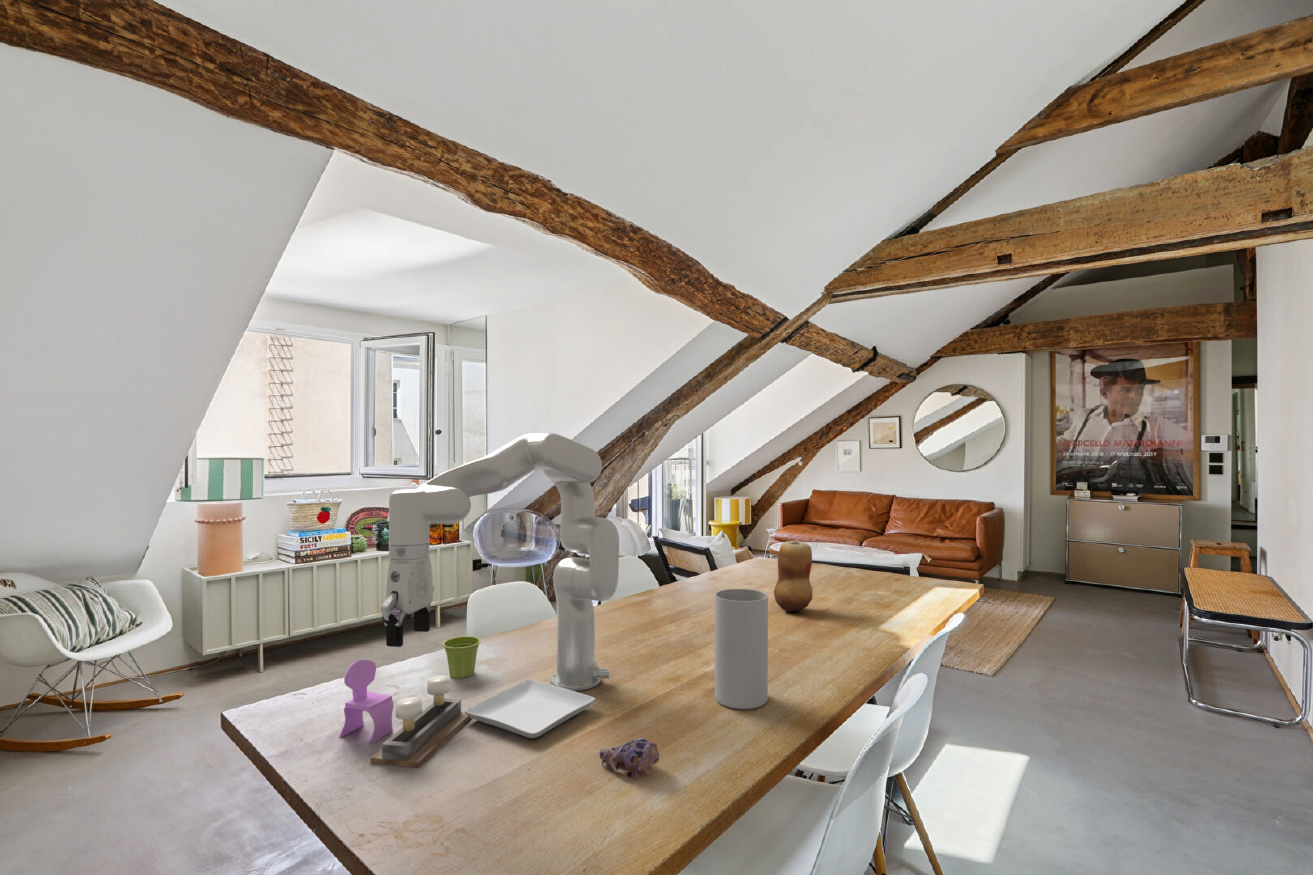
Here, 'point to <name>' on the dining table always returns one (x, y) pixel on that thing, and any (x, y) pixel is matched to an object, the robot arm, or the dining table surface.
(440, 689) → the plunger far
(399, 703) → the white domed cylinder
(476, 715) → the salad plate
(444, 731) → the mount
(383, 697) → the toy chair
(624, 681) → the dining table surface
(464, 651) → the plant pot
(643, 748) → the grey-brown rounded lump
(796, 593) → the butternut squash
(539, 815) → the dining table surface
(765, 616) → the cylinder vase
